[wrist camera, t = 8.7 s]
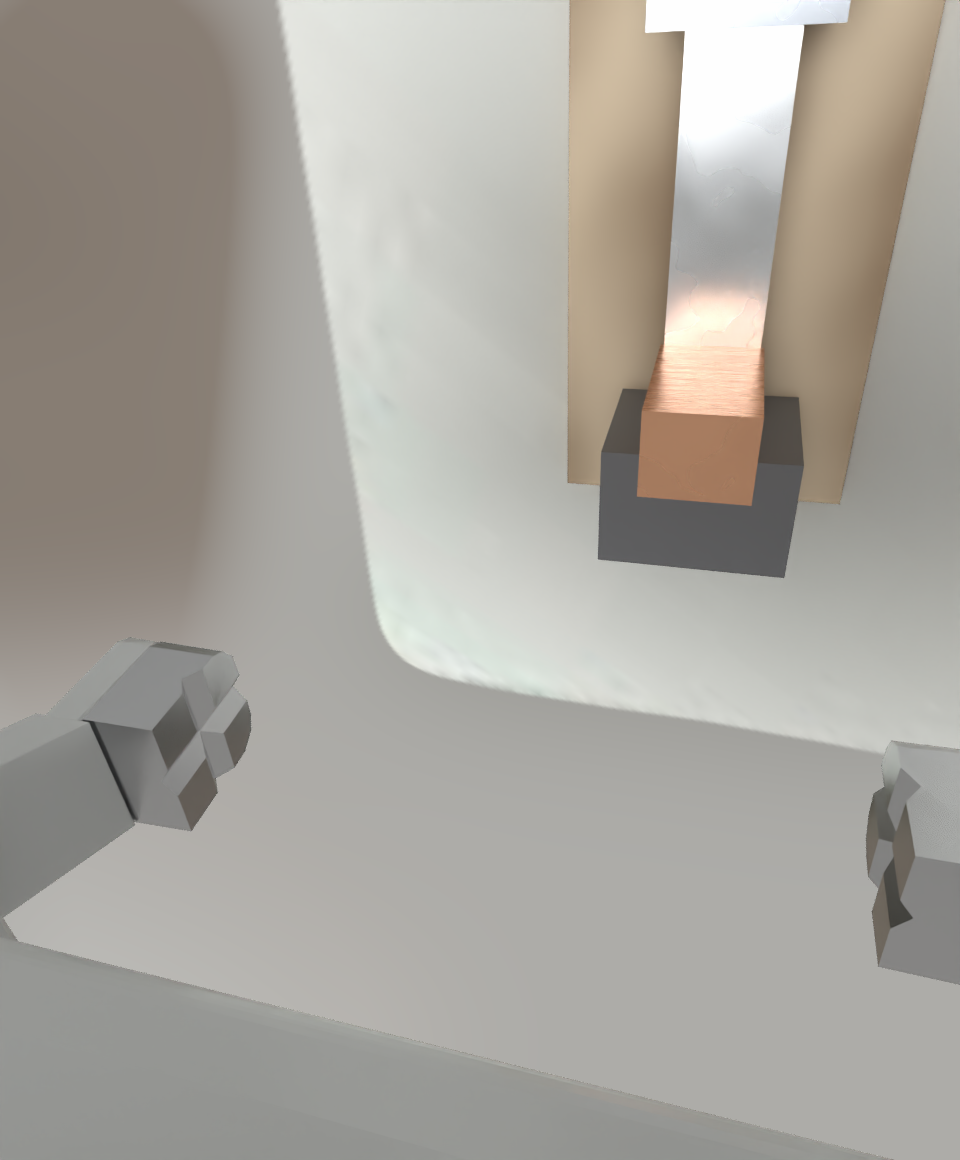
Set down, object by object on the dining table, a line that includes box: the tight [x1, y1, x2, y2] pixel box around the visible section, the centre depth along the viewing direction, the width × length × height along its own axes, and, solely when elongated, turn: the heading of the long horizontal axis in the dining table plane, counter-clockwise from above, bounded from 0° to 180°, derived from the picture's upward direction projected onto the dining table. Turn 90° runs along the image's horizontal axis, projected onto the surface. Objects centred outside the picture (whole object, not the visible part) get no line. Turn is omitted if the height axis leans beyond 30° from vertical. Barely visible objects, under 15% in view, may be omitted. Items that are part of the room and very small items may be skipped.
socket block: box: [598, 388, 804, 578], centre depth 29 cm, size 6×4×5 cm, turn 93°
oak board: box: [568, 0, 945, 504], centre depth 26 cm, size 10×24×1 cm, turn 3°
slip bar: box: [637, 25, 804, 506], centre depth 24 cm, size 3×15×8 cm, turn 3°
